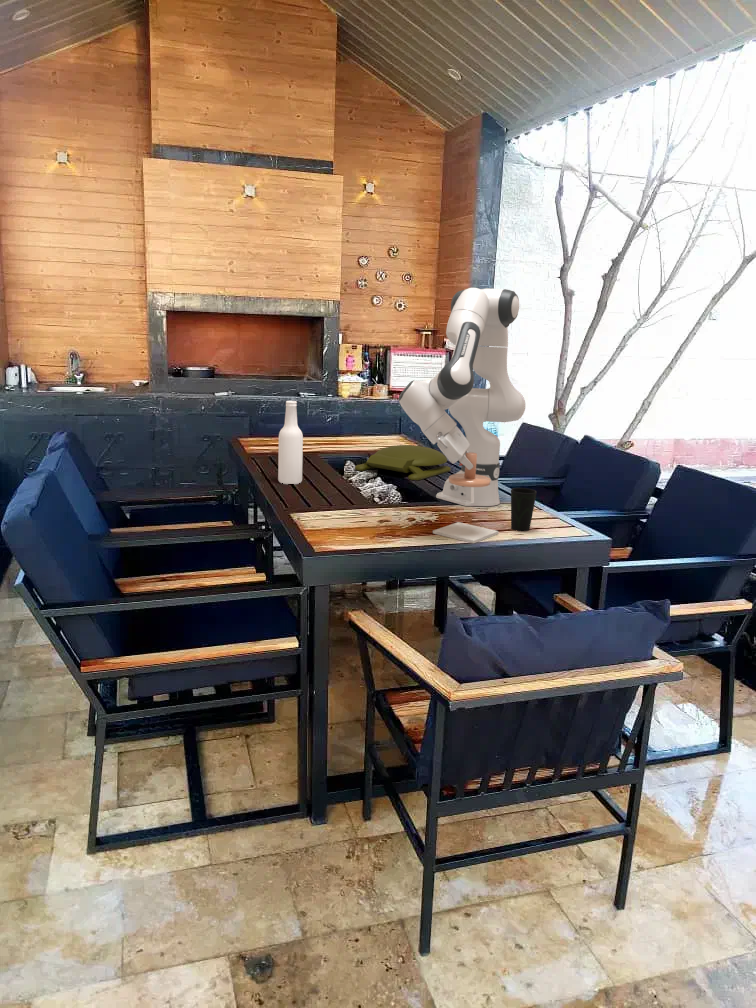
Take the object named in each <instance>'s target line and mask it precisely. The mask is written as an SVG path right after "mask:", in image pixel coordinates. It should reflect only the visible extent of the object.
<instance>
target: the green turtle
mask: <svg viewBox="0 0 756 1008" xmlns="http://www.w3.org/2000/svg"><path fill="white" fill-rule="evenodd" d="M445 463H448V458H447V457H446V456H445V455H444V453H443V452H442V451H439V450H436V449H435V448H431V447H427V446H420V445H415V444H413V445H411V444H397V445H390V446H385V447H383V448H381V449H379V450H377V451H376V452H375V453H374V454H371V455H370V456H369V457H368V459H367V460H366V462H364V463H362V464H357V465H355V466H354V470H355V471H359V472H365V471H369V470H372V469H373V468H374V469H381V470H387V471H388V470H389V471H392V472H393V471H394V472H399V473H405V474H408V473H411V474H409V475H408V476H407V478H408V480H410V481H413V480H416V481H420V480H424V479H427V478H432V477H435V476H438V475H442V474H445V473H449V472H451V470H452V468H451V467H450V466H448V465H443V464H445ZM439 465H440V466H439ZM429 466H430V467H431V466H436V467H433V468H430V469H425V470H423V469H421V467H429ZM416 481H415V482H416Z"/></svg>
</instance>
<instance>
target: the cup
mask: <svg viewBox="0 0 756 1008" xmlns="http://www.w3.org/2000/svg"><path fill="white" fill-rule="evenodd" d="M536 498H537V490H535V489H532V488H527V487H513V488H511V489H510V528H511V530H513V531H516V530H517V531H518V532H528V531H530V529H531V524H532V523H531V522H532V518H533V514H534V508H535V503H536ZM517 531H516V532H517Z"/></svg>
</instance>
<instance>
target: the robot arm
mask: <svg viewBox="0 0 756 1008" xmlns="http://www.w3.org/2000/svg"><path fill="white" fill-rule="evenodd" d="M519 311H520V300H519V297H518V294H517V293H516V291H514V290H510V289H506V288H504V289H498V288H478V287H469V288H465V289H462V290H458V291H457V292H456V293H455V294H454V295H453V297H452V298H451V303H450V314H449V317H448V321H447V325H446V332H445V334H446V338H447V339H448V341H449V342H450V343H451V344H452V345H454V349H453V353H452V356H451V359H450V360H449V361H448V362H447V363H446V364H445V365H444V366H443V367H442V369H441V370H440V371H439V372H438V373H436V375H435V376H434V377H433V378H430V379H425V380H415V379H414V380H411V381H410V382H409V383H408V384H407V385H406V387H404V389H403V390H402V391H401V393H400V394H399V396H398V401H399V405H400V406H401V408H402V410H403V411H404V413H406V415H407V416H408V417H409V418H410V420H411V421H412V422H414V423H415V424H416V425H417V426H418V427H419V428H420V430H421V432H422V433H423V435H424V436H426V438H427V439H428V440H429V442H431V444H432V445H437V447H438V448H439V449H440V452H441V453H442V454H444V455H445V456H446V458H447V461H449V462H450V463H451V464H455V463H457V462H459V465H458V466H461V468H460V470H459V471H457V472H456V473H455V474H464V473H465V466H466V468H467V469H468V470H470V469H472V468H473V466H474V465H473V464H472V462H471V461H469V460H468V459H467V458H466V453H467V452H473V453H477V462H476V474H477V475H482V476H486V477H488V478H490V479H491V480H490V485H488V486H485V487H464V486H458V485H454V484H452V483H450V482H449V477H447V479H446V480H445V482H444V484H443V490H442V491H440V492H437V494H436V495H435V497H436V498H437V499H440V500H443V501H447V502H451V503H454V504H457V505H459V506H460V505H462V506H464V507H494V506H497V505H500V504H501V500H500V495H499V477H500V466H501V465H500V464H501V463H500V460H499V459H500V449H501V441H500V439H499V437H498V436H497V435H496V434H495V433H493V432H491V431H489V430H488V429H486V428H485V427H484V423H486V422H490V423H509V422H516V421H519V420H520V419H521V418H522V416H523V415H524V413H525V411H526V400H525V398H524V395H522V393H521V392H520V391H519V390H517V389H516V388H515V386H514V385H513V384H512V382H511V380H510V376H509V373H508V347H509V331H508V330H509V326H510V324H512V323H514V321H515V320H516V319H517V317H518V316H519ZM474 373H476V374H477V376H479V377H481V378H483V379H485V380H487V381H488V382H489V388H481V387H478V388H476V387H475V388H474V383H475V378H474ZM446 410H449V414H450V415H451V416H452V417H453V418H452V417H451V416H450V415H449V414H448V413H447V412H446ZM455 420H456V421H457V422H458V423H459V425H460V426H461V427H462V429H463V430H464V433H463V432H462V431H461V429H460V428H459V427H458V426H457V422H456V421H455ZM464 434H465V435H464ZM436 443H437V444H436Z"/></svg>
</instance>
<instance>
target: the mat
mask: <svg viewBox="0 0 756 1008" xmlns="http://www.w3.org/2000/svg"><path fill="white" fill-rule="evenodd" d="M432 534H435V535H438V536H442V537H446V538H450V539H454V540H459V541H463V542H468V543H470V544H476V543H478V542H481V541H483V540H484V541H485V540H486V539H489V538H491V537H494V536H496V535H499V530H495V529H490V528H487V527H482V526H478V525H474V524H468V523H463V522H460V521H457V522H455V523H451V524H448V525H446V526H443V527H440V528H437V529H434V530H432Z"/></svg>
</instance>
